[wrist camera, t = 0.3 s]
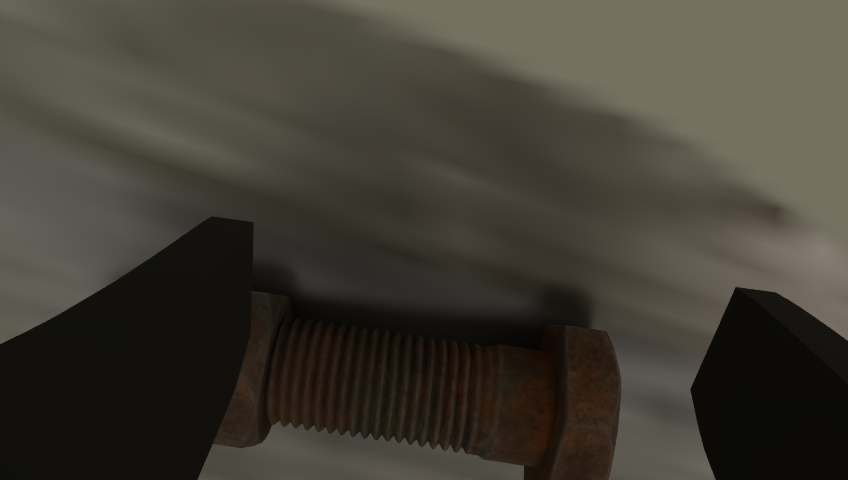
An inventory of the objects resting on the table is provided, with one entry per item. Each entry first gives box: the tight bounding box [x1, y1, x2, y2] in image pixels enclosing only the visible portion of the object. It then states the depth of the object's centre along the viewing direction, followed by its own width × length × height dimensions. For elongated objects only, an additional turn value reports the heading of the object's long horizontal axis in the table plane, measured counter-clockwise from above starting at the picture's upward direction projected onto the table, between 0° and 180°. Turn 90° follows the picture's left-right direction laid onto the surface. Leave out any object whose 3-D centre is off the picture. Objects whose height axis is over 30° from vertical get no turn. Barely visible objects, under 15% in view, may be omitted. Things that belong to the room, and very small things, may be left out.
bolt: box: [213, 291, 621, 480], centre depth 21 cm, size 6×5×15 cm
